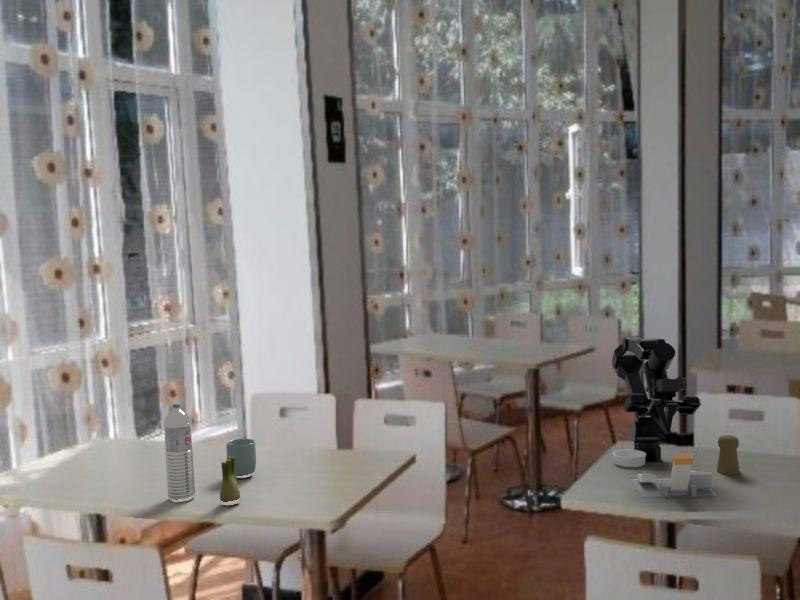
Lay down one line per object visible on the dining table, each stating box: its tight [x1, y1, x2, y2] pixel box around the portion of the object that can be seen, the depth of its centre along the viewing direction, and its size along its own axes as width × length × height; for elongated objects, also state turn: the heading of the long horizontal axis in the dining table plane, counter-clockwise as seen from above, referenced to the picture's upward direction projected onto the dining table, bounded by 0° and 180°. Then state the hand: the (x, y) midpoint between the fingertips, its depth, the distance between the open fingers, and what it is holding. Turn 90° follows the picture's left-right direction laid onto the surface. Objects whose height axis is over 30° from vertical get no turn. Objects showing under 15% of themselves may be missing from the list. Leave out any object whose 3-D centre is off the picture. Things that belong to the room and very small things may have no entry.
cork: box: [716, 434, 741, 476], centre depth 231 cm, size 6×6×11 cm
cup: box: [225, 438, 257, 476], centre depth 245 cm, size 8×8×10 cm
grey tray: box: [629, 477, 719, 498], centre depth 220 cm, size 15×18×4 cm
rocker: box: [637, 473, 658, 482], centre depth 222 cm, size 5×4×2 cm
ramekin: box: [612, 448, 646, 468], centre depth 242 cm, size 9×9×4 cm
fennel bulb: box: [219, 456, 241, 502], centre depth 222 cm, size 6×5×12 cm
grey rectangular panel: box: [689, 471, 713, 489], centre depth 216 cm, size 1×6×5 cm, turn 86°
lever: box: [668, 453, 694, 494], centre depth 211 cm, size 2×4×12 cm, turn 86°
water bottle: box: [163, 402, 196, 500], centre depth 227 cm, size 7×7×25 cm
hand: (668, 433), depth 226 cm, fingers closed
